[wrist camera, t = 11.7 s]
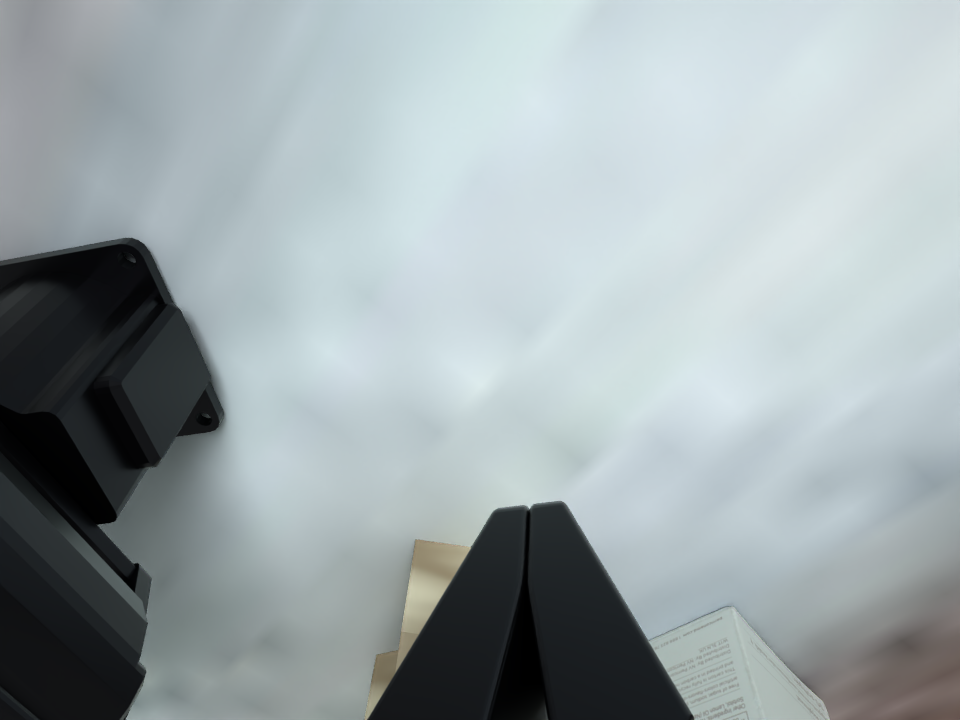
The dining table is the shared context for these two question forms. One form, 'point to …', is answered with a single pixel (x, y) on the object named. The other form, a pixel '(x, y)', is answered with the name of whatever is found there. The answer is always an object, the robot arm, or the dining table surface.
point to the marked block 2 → (427, 586)
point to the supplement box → (733, 672)
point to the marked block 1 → (381, 678)
